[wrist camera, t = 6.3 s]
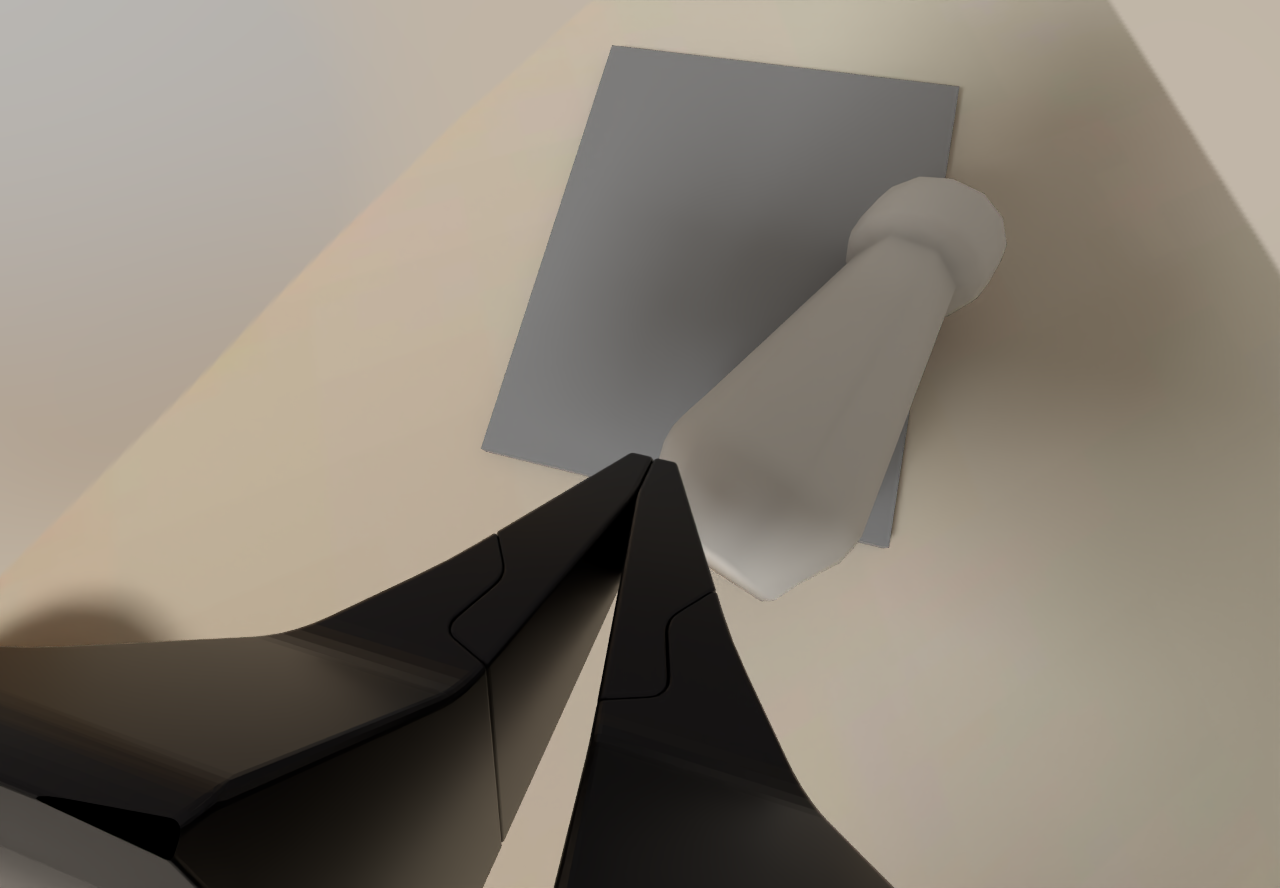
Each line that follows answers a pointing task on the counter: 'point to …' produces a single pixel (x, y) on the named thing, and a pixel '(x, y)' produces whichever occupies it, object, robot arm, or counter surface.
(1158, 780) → the counter surface
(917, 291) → the salt shaker
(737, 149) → the mat
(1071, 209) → the counter surface
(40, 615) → the counter surface
